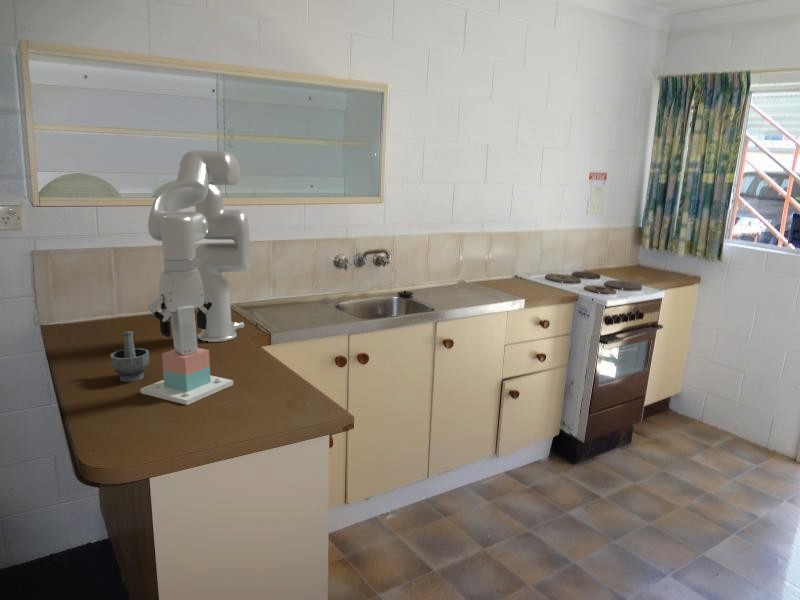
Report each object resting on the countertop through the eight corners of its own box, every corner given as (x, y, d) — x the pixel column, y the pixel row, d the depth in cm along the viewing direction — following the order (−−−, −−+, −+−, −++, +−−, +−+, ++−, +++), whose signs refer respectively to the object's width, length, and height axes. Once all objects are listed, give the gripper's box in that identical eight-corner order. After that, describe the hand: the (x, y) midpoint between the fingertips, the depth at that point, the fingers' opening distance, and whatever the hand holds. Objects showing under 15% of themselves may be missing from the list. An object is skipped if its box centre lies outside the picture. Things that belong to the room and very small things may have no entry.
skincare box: (198, 352, 154) (195, 306, 152) (181, 356, 152) (177, 308, 149) (189, 347, 159) (186, 301, 156) (172, 350, 156) (169, 304, 154)
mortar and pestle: (151, 381, 163) (148, 337, 160) (113, 386, 159) (109, 341, 156) (149, 368, 172) (145, 327, 170) (112, 373, 168) (108, 331, 166)
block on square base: (188, 374, 168) (186, 339, 166) (233, 384, 161) (231, 348, 159) (140, 393, 154) (137, 355, 152) (187, 405, 147) (184, 365, 145)
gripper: (203, 259, 159) (207, 323, 163) (138, 267, 147) (144, 336, 151) (219, 263, 154) (222, 328, 158) (153, 271, 142) (158, 342, 146)
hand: (184, 332), depth 154 cm, fingers open, 9 cm apart
